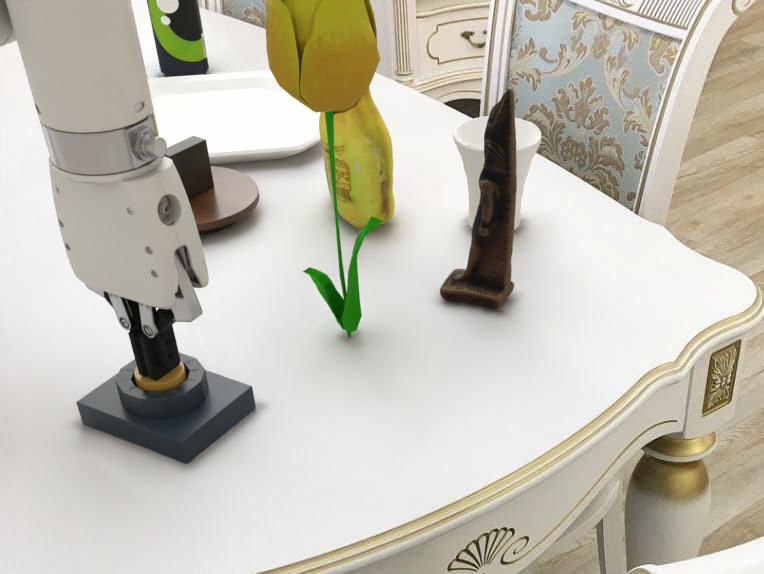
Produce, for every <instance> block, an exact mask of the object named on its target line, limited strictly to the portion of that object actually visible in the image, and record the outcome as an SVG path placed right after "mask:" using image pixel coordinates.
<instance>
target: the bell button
mask: <svg viewBox="0 0 764 574" xmlns="http://www.w3.org/2000/svg"><path fill="white" fill-rule="evenodd" d="M134 376H135V380H136V384H137V387H138V388H140V389H143V390H146V391H165V390H168V389H172V388H175V387H178V386H179V385H181V384H182V383H183V382H185V381H186V380H187V376H186V371H185V367H184V364H183V363H182V362H181V361H180V364H179V365H178V366H177V367H176V368H174V369H173V370H171V371H170V372H169V373H167V374H166V375H165V376H163V377H162V378H160V379H159V380H158V381H156V380H153V379H150V378H149V376H148V377H144V376H141V375H140V374H139V372H138V368H137V367H136V368H135V370H134Z"/></svg>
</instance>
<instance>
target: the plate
mask: <svg viewBox="0 0 764 574" xmlns="http://www.w3.org/2000/svg"><path fill="white" fill-rule="evenodd" d="M147 79H148V84H149V89H150V93H151V98H152V103H153V108H154V112H155V117H156V122H157V126H158V131H159V136H160V137H161V138H163V139H164V140H165V141H166V144H167V148H168V147H170V146H172V145H174V144H176V143H179V142H181V141H183V140H185V139H187V138H189V137H192V136H196V137H199V138H203V139H206V143H207V148H208V154H209V160H210V165H211V166H215V165H224V164H225V165H226V164H236V163H237V164H239V163H249V162H250V163H251V162H260V161H263V162H264V161H273V160H274V161H275V160H282V159H286V158H288V157H292V156H294V155H297V154H300V153H302V152H304V151H306V150H308V149H310V148H312V147H313V146H316V145H317V144H318V143H321V139H320V131H319V117H320V112H318V113H316V112H314V111H312V110H311V109H309V108H308V107H306V106H305V105H304V104H302V103H301V102H299V101H298V100H296V99H295V98H293V97H292V96H291V95H290V94H288V93H287V92H286V91H285V90H284V89H282V88H281V87H280V86H279V84H278V83H277V81H276V79H275V78H274V76H273V74H272V72H271V70H270V69H266V70H252V71H251V70H250V71H238V72H237V71H236V72H222V73H221V72H220V73H208V74H207V73H206V74H205V75H190V76H175V77H166V76H161V77H150V78H149V77H147Z"/></svg>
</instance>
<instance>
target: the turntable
mask: <svg viewBox="0 0 764 574" xmlns="http://www.w3.org/2000/svg"><path fill="white" fill-rule="evenodd" d="M165 157H167V158H169V159H171V160H172V161H173V163H174V165H175V167H176V170H177V172H178V174H179V176H180V179H181V181H182V184H183V186H184V189H185V191H186V194H187V197H188V200H189V203H190V206H191V209H192V212H193V215H194V219H195V222H196V225H197V229H198V231H201V230H207V229H213V228H217V227H221V226H224V225H228V224H230V223H233V222H236V221H238V220H239V221H240V220H242V219H244V218H245V217H247V216H248V215H249V214H250V213H252V212H254V210H255V209H256V208H257V206H258V204H259V203H260V202H259V201H260V190H259V187H258V184H257V183H256V181H255V180H254V179H253V178H252V177H250V176H249V175H247V174H245V173H243V172H241V171H238V170H235V169H232V168H228V167H223V166H217V165H210V160H209V154H208V148H207V143H206V139H203V138H199V137H196V136H192V137H189V138H187V139H185V140H183V141H181V142H179V143H176V144H174V145H172V146H170V147H168V148H167V152H166V154H165ZM239 221H238V222H239Z"/></svg>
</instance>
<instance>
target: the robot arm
mask: <svg viewBox="0 0 764 574" xmlns="http://www.w3.org/2000/svg"><path fill="white" fill-rule="evenodd" d="M14 42H16V43H17V47H18V50H19V53H20V57H21V60H22V64H23V67H24V71H25V74H26V78H27V82H28V86H29V89H30V92H31V95H32V99H33V103H34V106H35V109H36V113H37V116H38V120H39V123H40V124H39V125H40V127H41V130H42V131H41V132H42V134H43V138H44V141H45V145H46V148H47V151H48V155H49V156H48V168H49V176H50V178H49V179H50V185H51V193H52V197H53V203H54V208H55V214H56V219H57V223H58V227H59V230H60V231H59V232H60V235H61V237H62V238H61V240H62V242H63V247H64V249H65V254H66V257H67V259H68V261H69V264H70V267H71V270H72V272H73V274H74V275H75V277H76V278H77V280H79V281H80V282H82V283H83V284H84V286H85V287H86V288H87V289H88V290H89V291H92V292H93V293H95V294H97V295H98V296H100V297H102V298H103V299H105V300H106V302H107V303H108V304H109V305H110V306H111V308H112V309H113V310H114V313H115V316H116V318H117V320H118V323H119V325H120V327H121V328H122V329H124V330H125V331H128V332H127V334H128V338H129V342H130V345H131V346H130V347H131V349H132V353H133V356H134V359H135V361H136V365H137V368H138V372H139V374H140V375H141V376H144V377H148V376H149V378H150V379H153V380H156V381H158V380H159V379H160V378H162V377H163V376H165V375H166V374H167V373H169V372H170V371H171V370H173V369H174V368H176V367H177V366H178V365H179V364H180V356H179V353H180V352H179V347H178V343H177V338H176V334H175V331H174V330H175V329H174V326H173V325H174V324H175V323H192V322H193V321H195V320H196V319H198V318H199V317H201V316H202V315H203V313H204V312H203V308H202V305H201V302H200V301H199V297H198V296H197V293H196V290H195V289H202V288H205V287H207V286H208V285H209V281H210V279H209V270H208V265H207V262H206V257H205V253H204V248H203V243H202V240H201V236H199V233H198V229H197V225H196V222H195V219H194V215H193V212H192V209H191V206H190V203H189V200H188V197H187V194H186V191H185V189H184V186H183V184H182V181H181V179H180V176H179V174H178V172H177V170H176V167H175V165H174V163H173V161H172V160H171V159H169V158H167V157H165V154H166V152H167V144H166V141H165V140H164V139H163V138H161V137H160V136H159V131H158V126H157V122H156V117H155V112H154V108H153V103H152V98H151V93H150V89H149V84H148V79H147V78H148V75H147V70H146V66H145V61H144V56H143V52H142V47H141V42H140V37H139V33H138V28H137V23H136V17H135V14H134V9H133V5H132V0H0V47H4V46H6V45H9V44H11V43H14Z"/></svg>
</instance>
